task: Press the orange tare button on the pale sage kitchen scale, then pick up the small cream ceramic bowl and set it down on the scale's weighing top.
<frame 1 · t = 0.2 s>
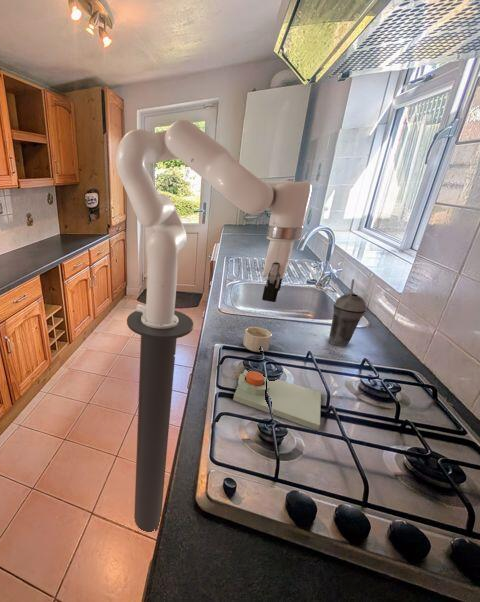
hand: (271, 295, 84), 16 cm above the counter, tool pointing down, fingers open, 9 cm apart
beverage cup: (337, 343, 91), on the counter
bowl: (255, 347, 89), on the counter
tare button: (254, 378, 70), point 4 cm above the counter, slide at 0.1 cm
scale: (276, 398, 69), on the counter
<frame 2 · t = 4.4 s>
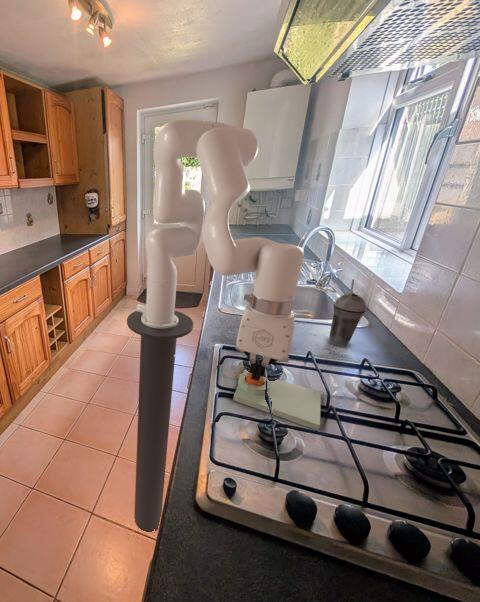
hand: (256, 376, 70), 4 cm above the counter, tool pointing down, fingers closed
tare button: (254, 379, 70), point 3 cm above the counter, slide at -0.2 cm, touching gripper
everything else where it was.
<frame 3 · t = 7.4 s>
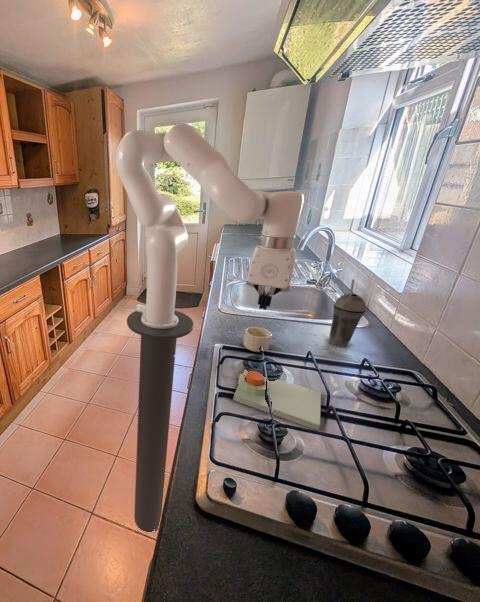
hand: (263, 307, 84), 13 cm above the counter, tool pointing down, fingers closed
tare button: (254, 378, 70), point 3 cm above the counter, slide at 0.1 cm
everything else where it was.
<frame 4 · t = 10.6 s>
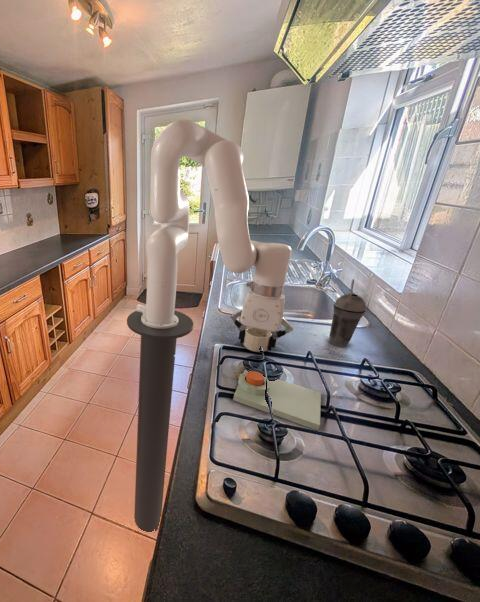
hand: (255, 344, 89), 1 cm above the counter, tool pointing down, fingers closed on bowl, 6 cm apart
bowl: (255, 347, 89), on the counter, touching gripper
everything else where it was.
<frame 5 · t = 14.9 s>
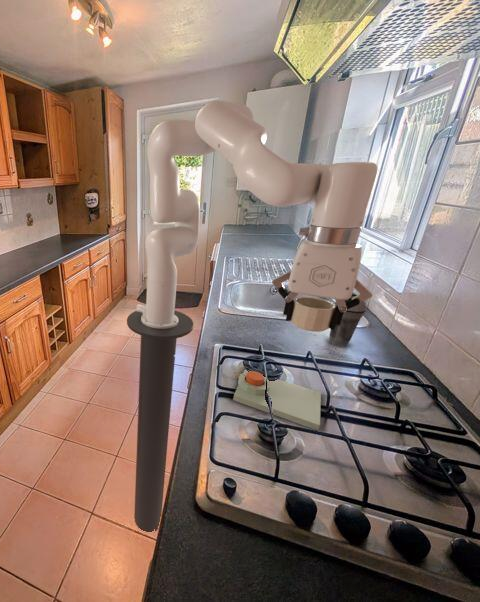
hand: (309, 322, 62), 19 cm above the counter, tool pointing down, fingers closed on bowl, 6 cm apart
bowl: (308, 325, 62), point 18 cm above the counter, touching gripper
everything else where it was.
when the fingers open (2 cm above the counter, at t = 19.2 s): bowl stays where it is, resting on scale.
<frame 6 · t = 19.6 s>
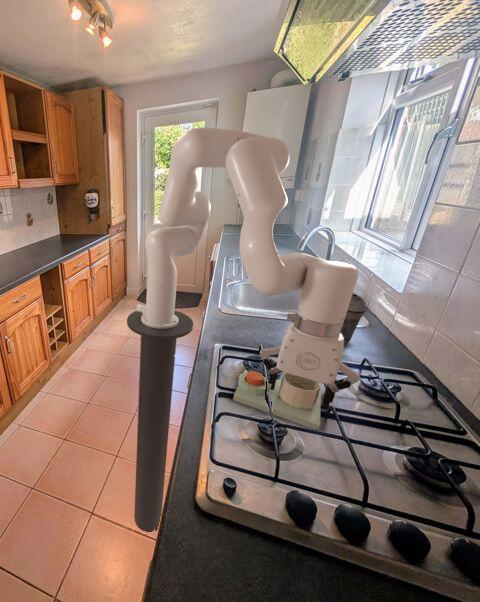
hand: (297, 394, 66), 3 cm above the counter, tool pointing down, fingers open, 9 cm apart
bowl: (295, 399, 66), point 1 cm above the counter, touching scale
everything else where it was.
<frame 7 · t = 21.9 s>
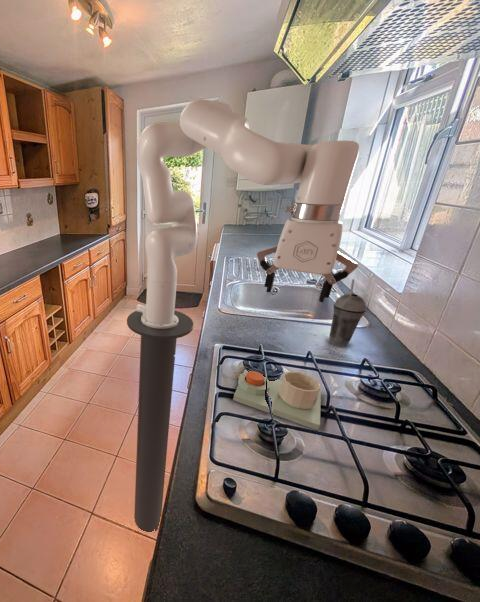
hand: (294, 295, 65), 23 cm above the counter, tool pointing down, fingers open, 9 cm apart
nothing on the counter moved.
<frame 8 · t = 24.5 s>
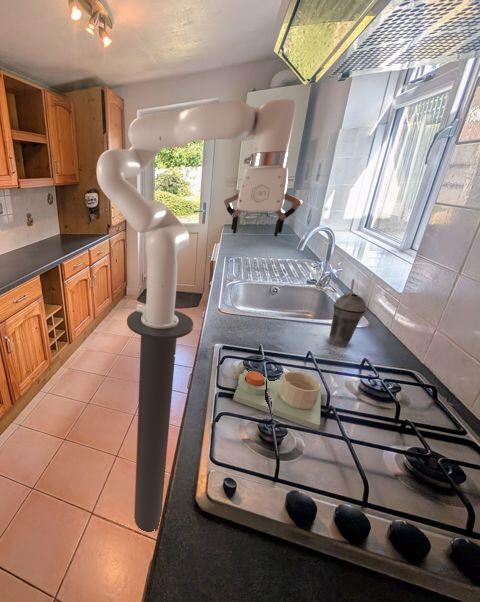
hand: (255, 234, 78), 33 cm above the counter, tool pointing down, fingers open, 9 cm apart
nothing on the counter moved.
at the end: tare button pushed in 0.9 cm at the most during the clip, back to where it started at the end; bowl inside the target area on the scale (0.2 cm from its centre), point 1.4 cm above the scale's base; bowl touching scale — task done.
